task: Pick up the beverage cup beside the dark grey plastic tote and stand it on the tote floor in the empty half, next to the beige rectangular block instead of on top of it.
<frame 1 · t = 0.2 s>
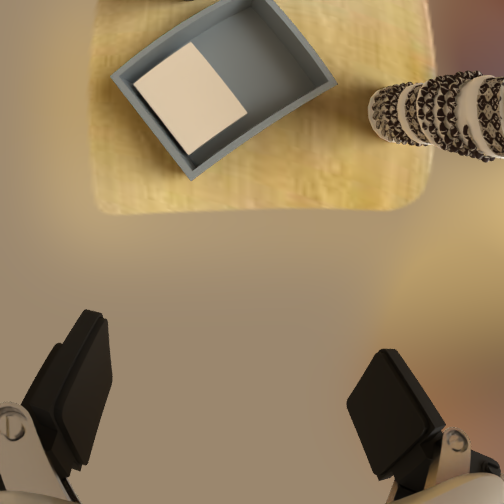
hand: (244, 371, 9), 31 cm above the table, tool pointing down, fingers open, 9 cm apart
tote: (223, 80, 32), on the table
beige rectangular block: (192, 100, 32), point 1 cm above the table, touching tote
decorative candle: (391, 115, 35), on the table
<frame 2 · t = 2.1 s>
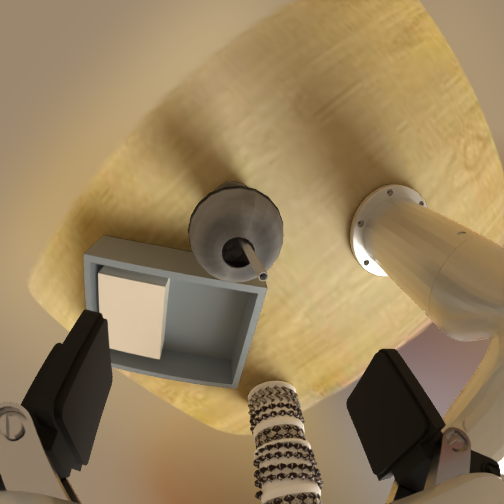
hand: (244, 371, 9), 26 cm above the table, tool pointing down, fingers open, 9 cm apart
tote: (172, 305, 37), on the table
beverage cup: (232, 200, 33), on the table
beige rectangular block: (137, 302, 36), point 1 cm above the table, touching tote
decorative candle: (271, 395, 46), on the table
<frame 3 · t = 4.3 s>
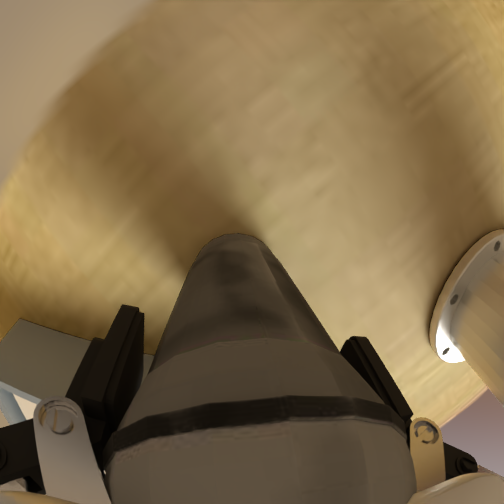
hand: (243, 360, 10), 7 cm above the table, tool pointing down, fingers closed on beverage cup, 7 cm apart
tote: (142, 418, 20), on the table
beverage cup: (235, 271, 16), on the table, touching gripper
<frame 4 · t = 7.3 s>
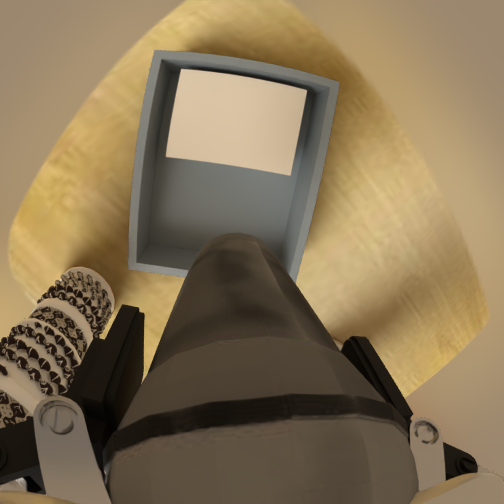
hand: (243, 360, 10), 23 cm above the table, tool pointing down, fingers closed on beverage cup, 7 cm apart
tote: (226, 166, 29), on the table
beverage cup: (234, 270, 16), point 16 cm above the table, touching gripper
beige rectangular block: (234, 122, 27), point 1 cm above the table, touching tote
decorative candle: (86, 295, 33), on the table
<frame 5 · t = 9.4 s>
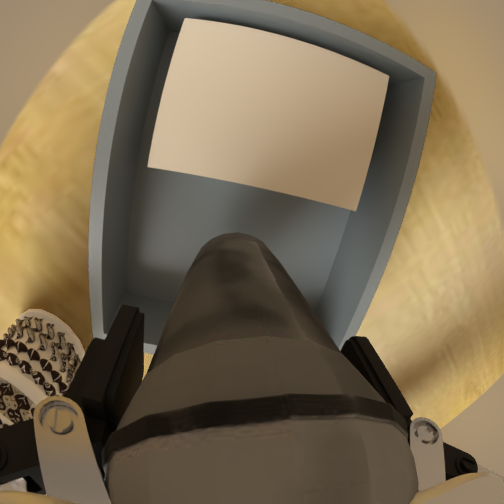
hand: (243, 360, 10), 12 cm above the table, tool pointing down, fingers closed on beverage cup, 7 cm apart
tote: (246, 183, 19), on the table
beverage cup: (234, 270, 16), point 5 cm above the table, touching gripper
beige rectangular block: (265, 115, 16), point 1 cm above the table, touching tote
decorative candle: (50, 342, 23), on the table
when the fingers open (9 cm above the table, at t = 10.6 s): beverage cup drops 1 cm, resting on tote.
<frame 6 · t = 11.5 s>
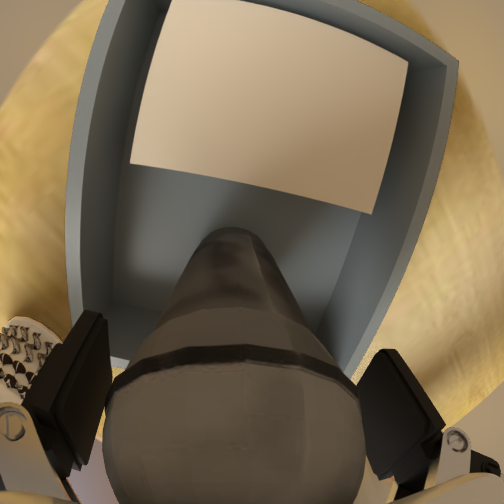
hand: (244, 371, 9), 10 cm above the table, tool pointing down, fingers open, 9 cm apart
tote: (246, 181, 17), on the table
beverage cup: (231, 261, 18), point 1 cm above the table, touching tote
beige rectangular block: (266, 103, 14), point 1 cm above the table, touching tote
decorative candle: (39, 351, 21), on the table
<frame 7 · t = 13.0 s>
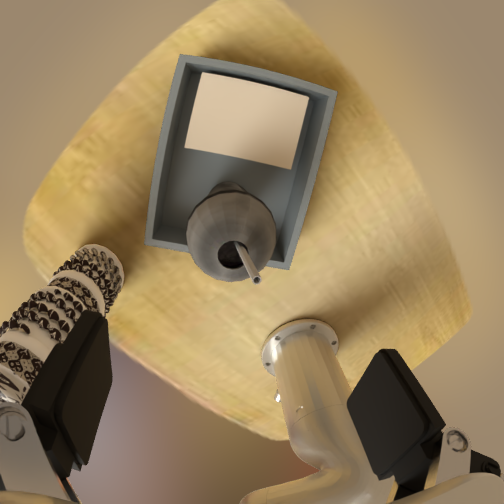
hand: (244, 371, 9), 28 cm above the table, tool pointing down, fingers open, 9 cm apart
tote: (235, 159, 33), on the table
beverage cup: (227, 199, 34), point 1 cm above the table, touching tote
beige rectangular block: (244, 121, 30), point 1 cm above the table, touching tote
decorative candle: (97, 271, 37), on the table
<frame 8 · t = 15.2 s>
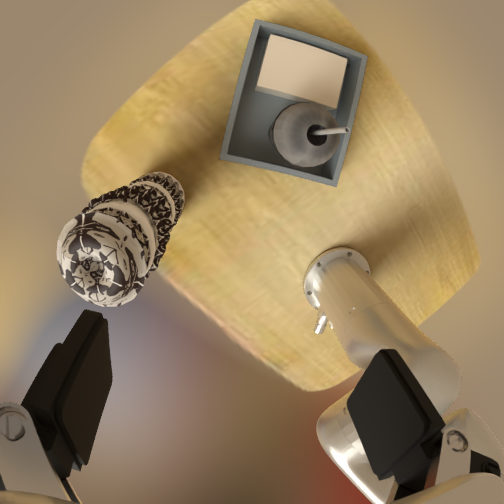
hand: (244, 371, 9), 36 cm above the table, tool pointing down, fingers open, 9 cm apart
tote: (288, 104, 39), on the table
beverage cup: (283, 134, 39), point 1 cm above the table, touching tote
beige rectangular block: (297, 75, 36), point 1 cm above the table, touching tote
decorative candle: (157, 198, 42), on the table
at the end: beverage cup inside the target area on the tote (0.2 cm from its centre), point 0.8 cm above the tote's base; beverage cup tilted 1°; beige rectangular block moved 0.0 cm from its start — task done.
